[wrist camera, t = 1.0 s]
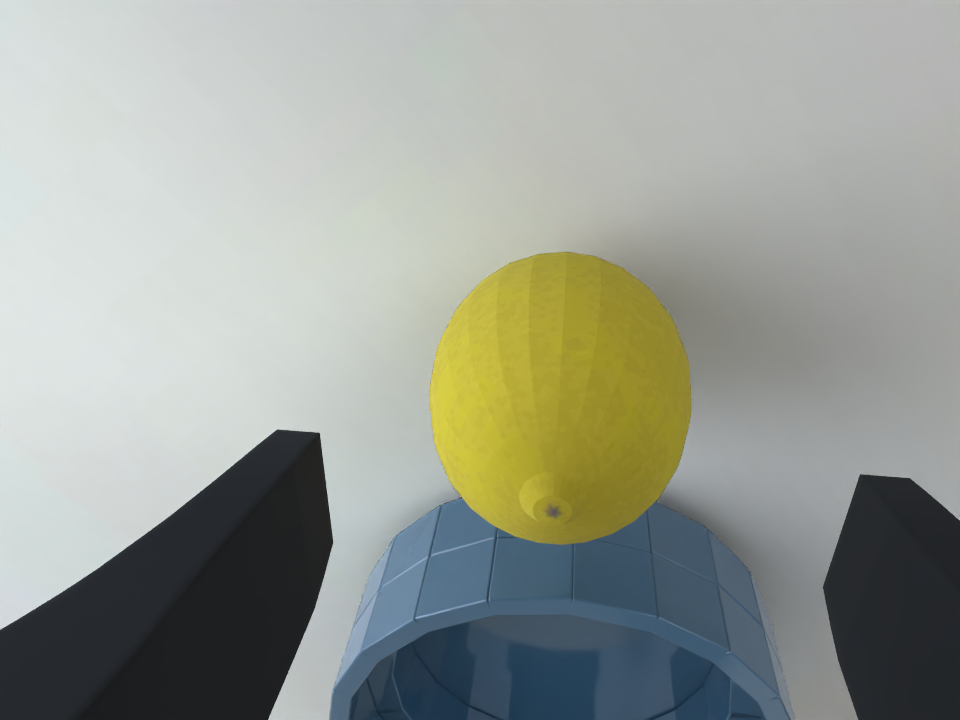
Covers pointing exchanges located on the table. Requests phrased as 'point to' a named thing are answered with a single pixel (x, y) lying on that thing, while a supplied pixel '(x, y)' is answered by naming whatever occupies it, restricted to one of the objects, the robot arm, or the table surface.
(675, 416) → the lemon
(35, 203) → the table surface
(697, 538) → the bowl
